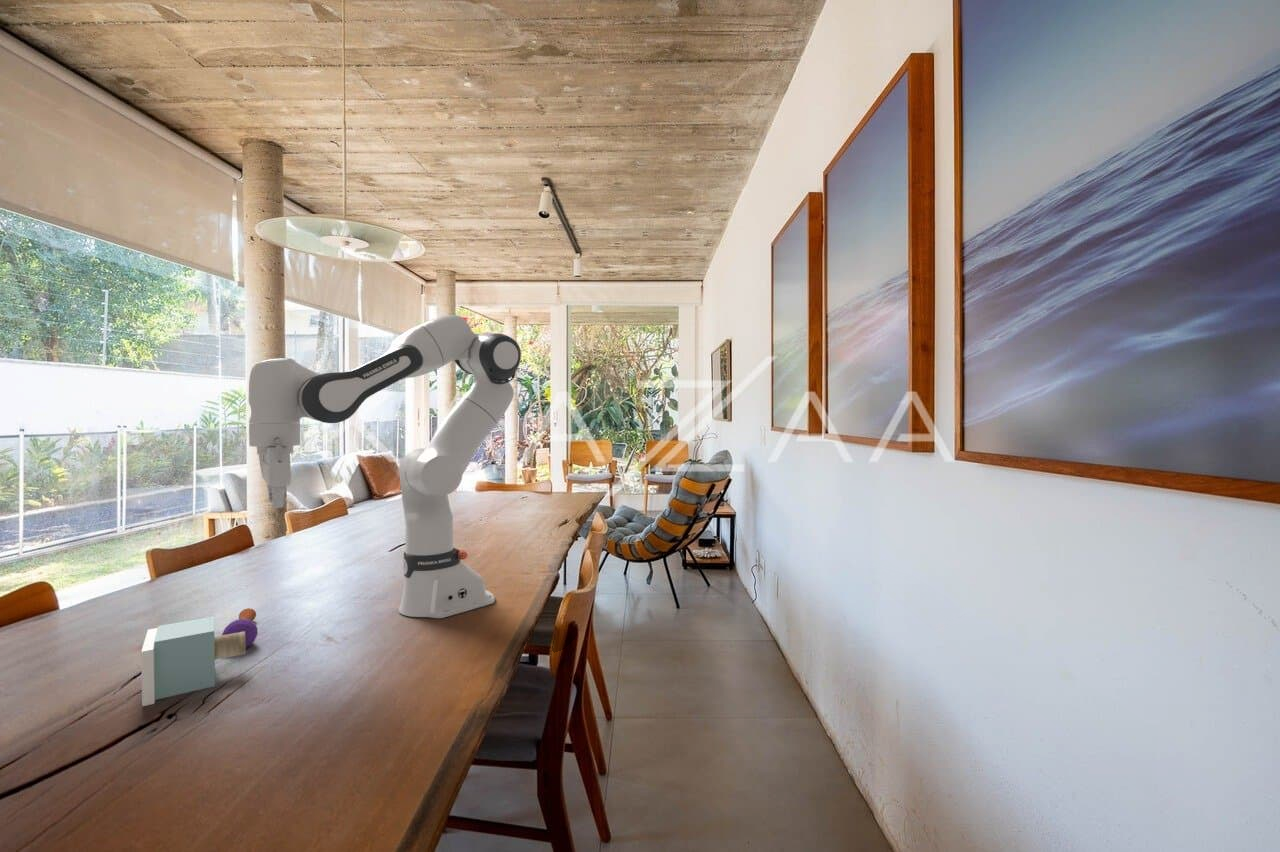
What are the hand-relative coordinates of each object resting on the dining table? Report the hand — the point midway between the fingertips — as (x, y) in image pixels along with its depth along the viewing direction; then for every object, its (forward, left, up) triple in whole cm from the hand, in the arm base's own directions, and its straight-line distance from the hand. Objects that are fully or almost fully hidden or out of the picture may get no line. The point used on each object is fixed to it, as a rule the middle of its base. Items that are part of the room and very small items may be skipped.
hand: (276, 504), depth 117 cm
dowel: (+11, +10, -26) cm, 30 cm away
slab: (+19, +10, -29) cm, 36 cm away
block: (+14, +10, -29) cm, 34 cm away
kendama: (+5, -10, -30) cm, 32 cm away
